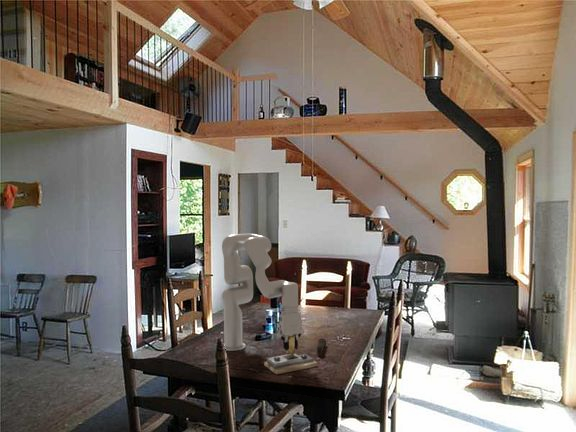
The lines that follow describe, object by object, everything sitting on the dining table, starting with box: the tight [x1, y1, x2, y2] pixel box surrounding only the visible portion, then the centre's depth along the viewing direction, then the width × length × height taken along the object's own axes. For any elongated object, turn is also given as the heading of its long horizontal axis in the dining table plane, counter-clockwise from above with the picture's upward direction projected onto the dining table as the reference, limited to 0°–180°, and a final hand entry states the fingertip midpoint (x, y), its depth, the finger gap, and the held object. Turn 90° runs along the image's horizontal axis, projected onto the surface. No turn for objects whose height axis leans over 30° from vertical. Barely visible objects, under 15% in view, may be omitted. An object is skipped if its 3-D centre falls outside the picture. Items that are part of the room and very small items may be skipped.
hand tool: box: [316, 338, 327, 357], centre depth 217 cm, size 19×4×5 cm, turn 168°
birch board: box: [263, 360, 318, 375], centre depth 197 cm, size 13×21×2 cm, turn 117°
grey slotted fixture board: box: [266, 353, 315, 369], centre depth 196 cm, size 8×20×3 cm, turn 117°
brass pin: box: [285, 335, 296, 355], centre depth 196 cm, size 4×4×8 cm
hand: (290, 348), depth 196 cm, fingers closed on brass pin, 4 cm apart
